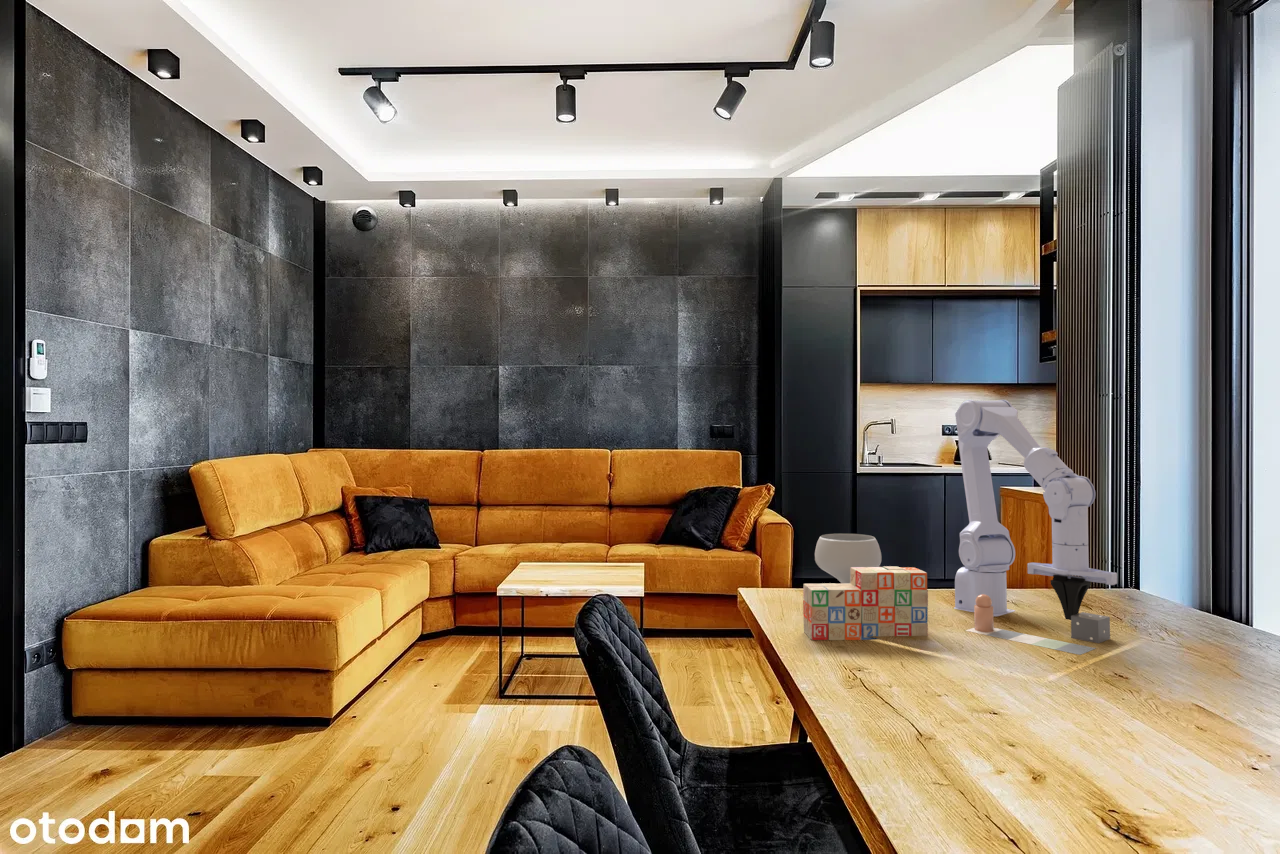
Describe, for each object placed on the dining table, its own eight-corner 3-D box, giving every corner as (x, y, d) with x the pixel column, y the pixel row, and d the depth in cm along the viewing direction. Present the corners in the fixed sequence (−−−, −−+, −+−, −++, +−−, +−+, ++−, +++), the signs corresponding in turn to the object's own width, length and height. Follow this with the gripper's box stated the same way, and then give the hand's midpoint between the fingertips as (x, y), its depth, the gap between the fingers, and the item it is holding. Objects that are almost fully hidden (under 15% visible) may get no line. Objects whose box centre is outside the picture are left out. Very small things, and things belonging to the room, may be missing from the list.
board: (965, 633, 140) (965, 630, 140) (982, 628, 143) (982, 625, 143) (1080, 658, 124) (1080, 654, 124) (1096, 651, 127) (1096, 648, 127)
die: (1071, 641, 134) (1070, 615, 134) (1083, 637, 137) (1082, 611, 137) (1099, 646, 130) (1098, 620, 130) (1110, 642, 133) (1110, 616, 133)
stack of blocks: (811, 641, 136) (810, 573, 136) (803, 632, 142) (802, 567, 142) (928, 639, 136) (927, 571, 137) (915, 630, 143) (914, 565, 143)
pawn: (971, 629, 140) (970, 594, 140) (980, 626, 142) (979, 591, 142) (987, 633, 138) (987, 596, 138) (997, 630, 140) (996, 594, 140)
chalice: (868, 598, 171) (867, 532, 171) (892, 612, 157) (891, 540, 157) (807, 600, 170) (806, 533, 170) (826, 614, 156) (825, 541, 156)
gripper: (1018, 541, 140) (1020, 614, 139) (1104, 550, 128) (1105, 630, 128) (1037, 538, 144) (1038, 609, 144) (1121, 546, 132) (1123, 624, 132)
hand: (1071, 619), depth 136 cm, fingers closed
